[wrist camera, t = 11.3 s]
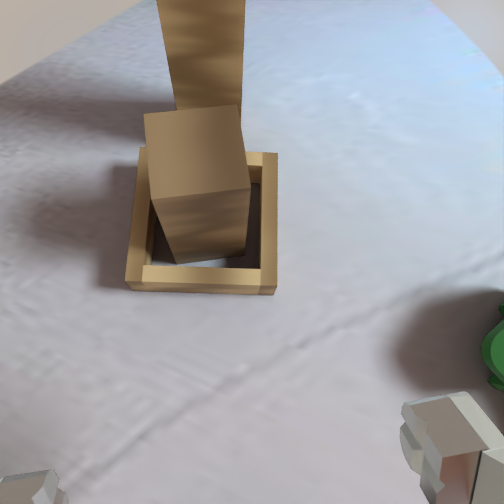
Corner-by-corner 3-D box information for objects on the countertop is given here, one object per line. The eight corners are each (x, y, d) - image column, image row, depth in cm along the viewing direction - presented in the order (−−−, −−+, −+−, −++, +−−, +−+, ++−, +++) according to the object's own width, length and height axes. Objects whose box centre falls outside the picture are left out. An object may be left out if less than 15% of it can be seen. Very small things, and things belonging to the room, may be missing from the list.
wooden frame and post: (133, 290, 29) (-38, 98, 10) (154, 93, 33) (63, -276, 15) (273, 295, 29) (346, 116, 11) (274, 99, 34) (326, -255, 15)
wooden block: (176, 264, 29) (151, 199, 20) (170, 202, 31) (143, 113, 21) (244, 255, 30) (251, 187, 20) (234, 194, 31) (237, 104, 22)
